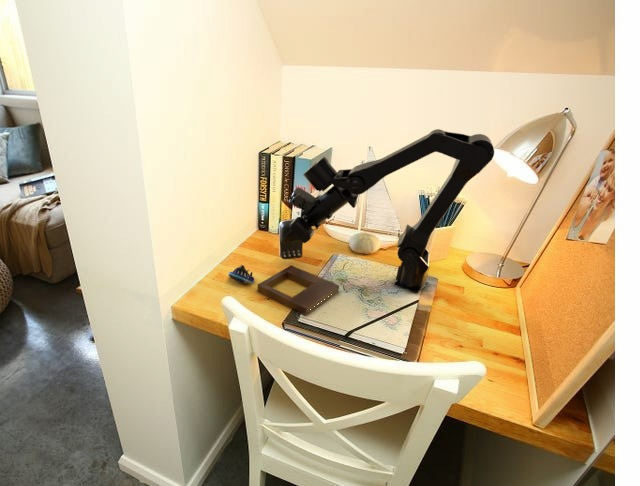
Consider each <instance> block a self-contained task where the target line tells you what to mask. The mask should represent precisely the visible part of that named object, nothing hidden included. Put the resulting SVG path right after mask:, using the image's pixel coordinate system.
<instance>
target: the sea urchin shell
mask: <svg viewBox="0 0 640 486" xmlns="http://www.w3.org/2000/svg"><path fill="white" fill-rule="evenodd" d="M348 245H349V247H350V249H351V250H352V251H353V252H354V253H357V254H365V255H370V254H374V253H377V252H378V251H379V249H380V247H381V240H380V238H379V237H378V236H376V235H375V234H372V233H369V232H357V233H354V234H352V236H350V238H349V239H348Z"/></svg>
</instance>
